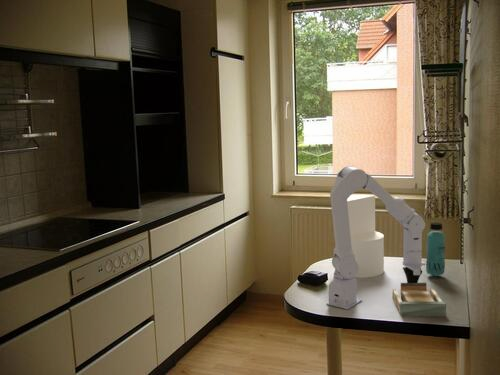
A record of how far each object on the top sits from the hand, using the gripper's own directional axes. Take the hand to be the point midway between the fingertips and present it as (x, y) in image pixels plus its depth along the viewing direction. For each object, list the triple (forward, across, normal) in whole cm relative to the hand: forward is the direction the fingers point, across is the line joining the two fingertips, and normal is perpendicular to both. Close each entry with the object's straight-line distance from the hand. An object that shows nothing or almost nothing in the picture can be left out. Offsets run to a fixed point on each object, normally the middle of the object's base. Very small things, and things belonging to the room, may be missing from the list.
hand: (412, 289), depth 176 cm
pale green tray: (+2, -8, 0) cm, 8 cm away
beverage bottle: (+3, +20, -12) cm, 24 cm away
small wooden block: (+2, -7, 0) cm, 8 cm away
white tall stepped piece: (+3, +28, +14) cm, 32 cm away
